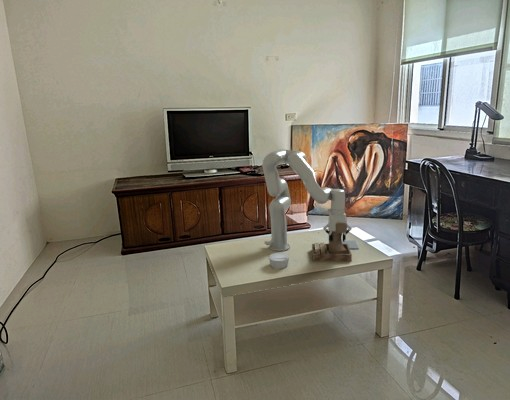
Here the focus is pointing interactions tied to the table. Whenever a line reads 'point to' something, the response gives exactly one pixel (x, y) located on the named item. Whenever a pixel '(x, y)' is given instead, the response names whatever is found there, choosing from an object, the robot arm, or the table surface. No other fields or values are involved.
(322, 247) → the offcut
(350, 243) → the mat
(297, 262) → the table surface
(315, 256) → the rack
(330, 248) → the decorative block
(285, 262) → the ramekin
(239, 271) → the table surface
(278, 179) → the robot arm
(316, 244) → the offcut
